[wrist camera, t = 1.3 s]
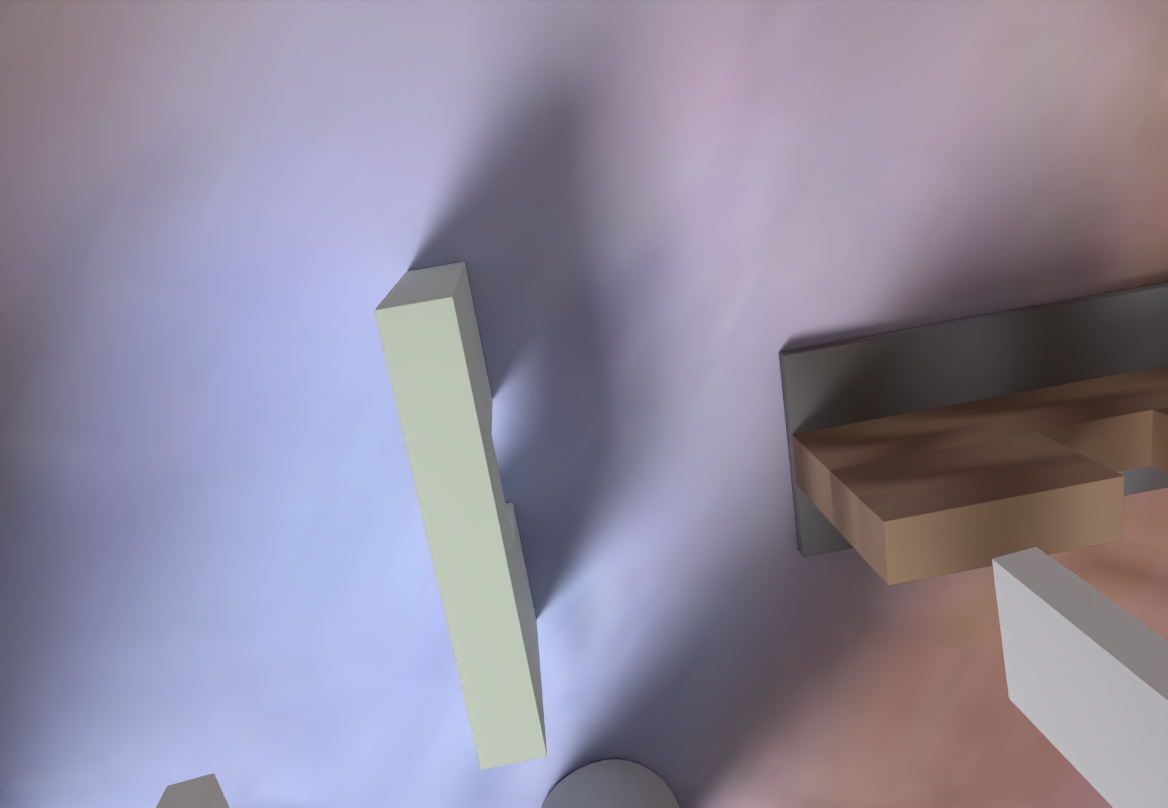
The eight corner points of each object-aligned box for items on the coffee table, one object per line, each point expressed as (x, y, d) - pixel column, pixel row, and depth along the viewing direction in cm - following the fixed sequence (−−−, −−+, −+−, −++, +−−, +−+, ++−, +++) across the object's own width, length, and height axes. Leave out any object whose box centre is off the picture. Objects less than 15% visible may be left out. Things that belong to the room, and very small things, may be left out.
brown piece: (798, 550, 34) (894, 675, 26) (778, 352, 32) (876, 420, 23) (1237, 466, 35) (1467, 562, 26) (1249, 267, 32) (1504, 304, 24)
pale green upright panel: (536, 620, 34) (546, 756, 26) (485, 630, 34) (480, 769, 26) (465, 261, 30) (452, 296, 22) (406, 271, 30) (374, 310, 22)
